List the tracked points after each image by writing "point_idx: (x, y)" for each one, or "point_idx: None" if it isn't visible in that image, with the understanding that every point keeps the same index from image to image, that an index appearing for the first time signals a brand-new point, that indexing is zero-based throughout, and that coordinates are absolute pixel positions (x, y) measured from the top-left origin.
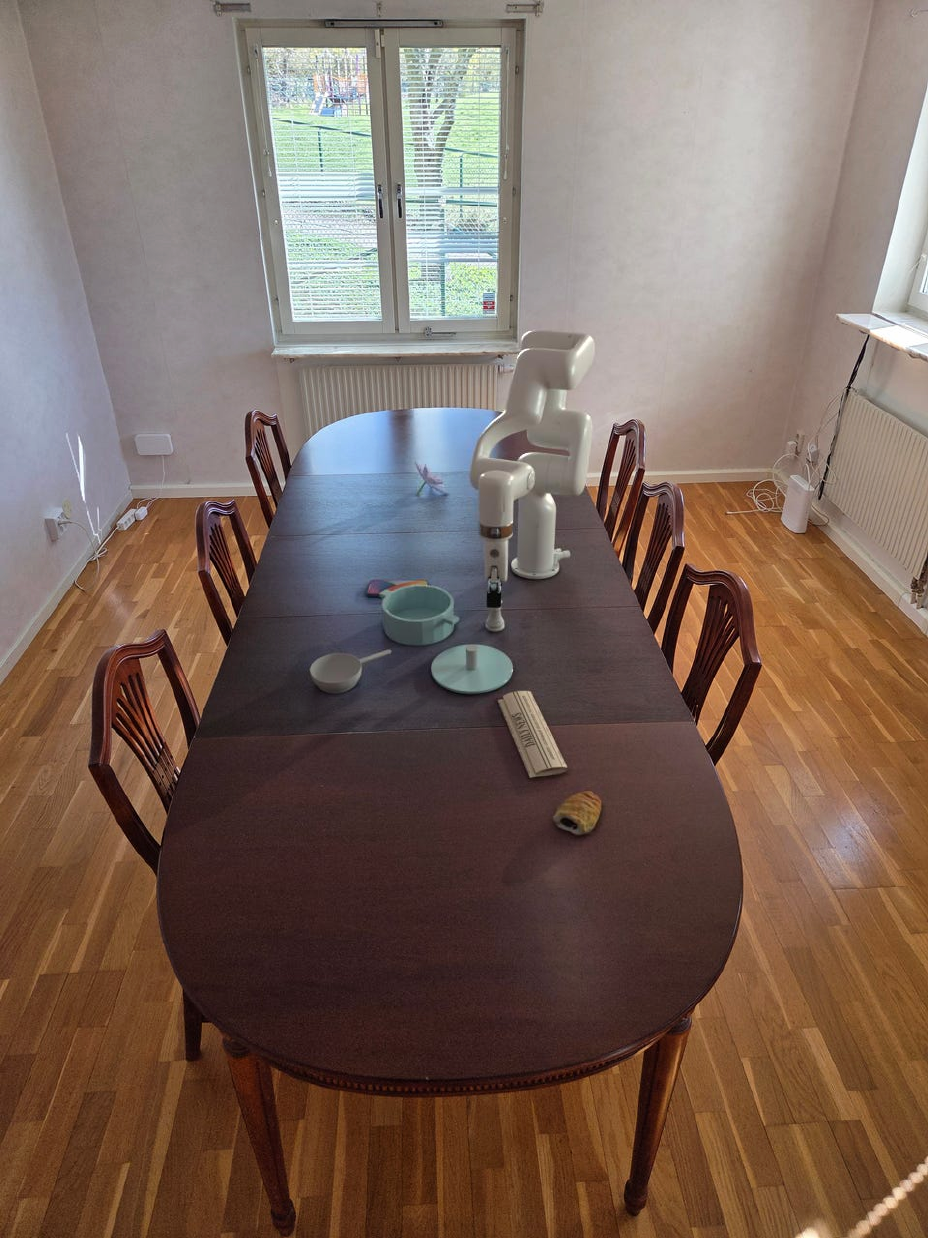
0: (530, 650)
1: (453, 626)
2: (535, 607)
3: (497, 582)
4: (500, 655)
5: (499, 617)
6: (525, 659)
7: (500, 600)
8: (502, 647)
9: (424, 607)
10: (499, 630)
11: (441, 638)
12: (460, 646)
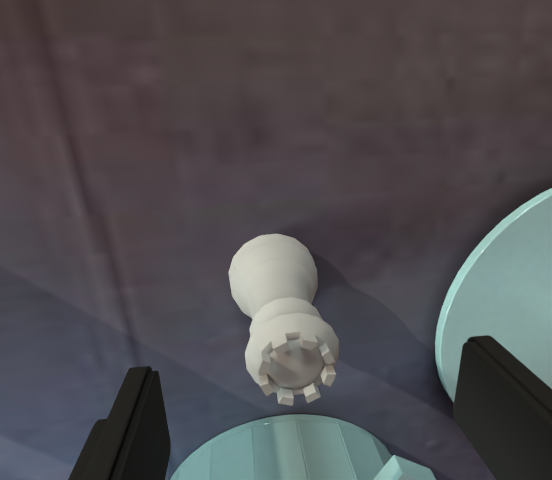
0: (457, 95)
1: (304, 425)
2: (30, 77)
3: (153, 426)
4: (531, 230)
5: (297, 278)
6: (523, 117)
7: (532, 377)
8: (425, 224)
9: None
10: (307, 251)
11: (376, 441)
12: (450, 381)
